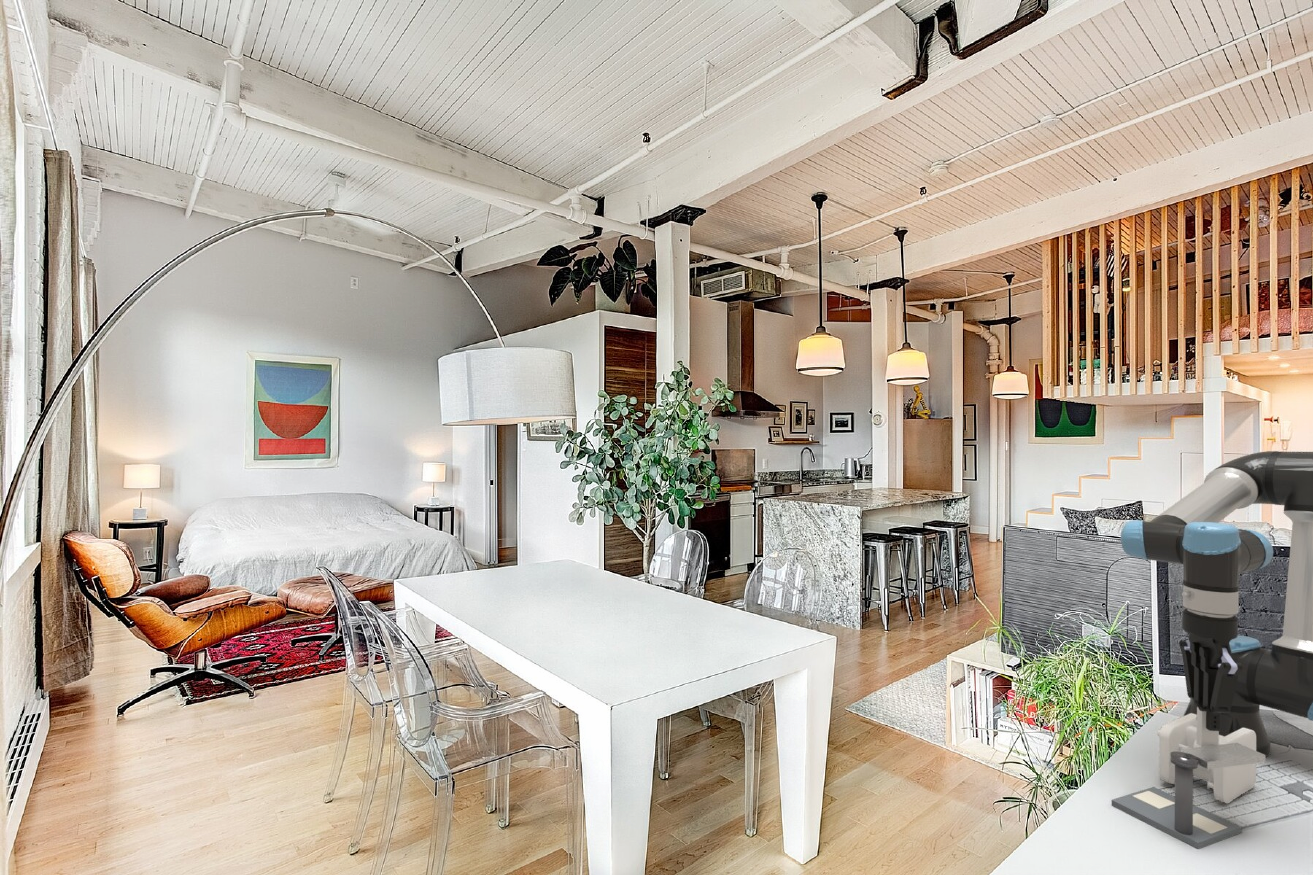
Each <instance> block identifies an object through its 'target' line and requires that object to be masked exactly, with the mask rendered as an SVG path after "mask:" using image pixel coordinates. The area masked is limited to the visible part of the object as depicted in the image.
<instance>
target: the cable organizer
mask: <svg viewBox="0 0 1313 875" xmlns="http://www.w3.org/2000/svg"><path fill="white" fill-rule="evenodd" d="M1157 737H1158V738H1159V740H1158V741H1159V742H1158V748H1159V749H1158V754H1159V755H1158V758H1159V759H1158V762H1159V763H1158V776H1159V779H1160V780H1161V781H1164V782H1166V783H1169V784H1171V785H1175V764H1173V763H1172V762H1171V761H1170V753H1171V752H1174V751H1178V752H1181V749H1186V748H1195V747H1201V746H1199V745H1198V744H1196V743H1197V715H1196V714H1193V713H1190V714H1188V715H1185V716H1183V715H1182V716H1181V717H1178V718H1177V719H1173V720H1172V721H1169V722H1167V723H1165V724H1163V725H1162V726H1160V728H1159V729H1158V730H1157ZM1231 743H1239V744H1241V745H1243V746H1246V747H1248V748H1250V749H1253V750H1255V751H1256V733H1255V732H1254V731H1253V730H1250V729H1247V728H1241V729H1239V730H1237V731H1235V732H1233V733H1231V734H1229V735H1227V736H1225V737H1224V736H1221V735H1219V745H1222V744H1231ZM1194 777H1195V778H1197V779H1200V780H1203V781H1204V782H1207V786H1206V790H1209V791H1210V790H1211V789H1213V796H1214V799H1216V800H1218V801H1219V802H1222V803H1223V802H1225V803H1228V802H1229V803H1231V802H1232V801H1234V800H1235V799H1236V798H1238V797H1240V796H1241V794H1242V795H1244V794H1246V793H1247V792H1249V791H1250V790H1251V789H1252V788H1253V787H1254V786H1255V783H1256V781H1257V780H1256V779H1257V763H1254V764H1246V765H1238V766H1229V767H1221V768H1212V769H1206V768H1204V767H1202V766H1200V765H1198V768H1196V769H1193V778H1194ZM1248 790H1249V791H1248ZM1246 791H1247V792H1246ZM1245 792H1246V793H1245ZM1243 793H1244V794H1243ZM1233 799H1234V800H1233ZM1230 801H1231V802H1230ZM1225 803H1224V804H1225ZM1229 803H1228V804H1229Z"/></svg>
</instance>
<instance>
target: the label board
mask: <svg viewBox="0 0 1313 875" xmlns="http://www.w3.org/2000/svg"><path fill="white" fill-rule="evenodd" d="M1111 806H1112V807H1115V808H1116V809H1118V810H1120V811H1121V812H1124V813H1126V814H1127V815H1130V816H1132V817H1134V818H1135V819H1138V820H1140V821H1142V822H1144V823H1146V824H1147V825H1150V826H1152V827H1154V828H1156V829H1157V830H1159V831H1162V832H1164V833H1165V834H1168V835H1170V836H1172V837H1174V838H1175V839H1177V840H1179V841H1181V842H1184V843H1185V844H1187V845H1189V846H1192V847H1193V848H1196V849H1197V850H1200V849H1202V848H1205V847H1207V846H1210V845H1213V844H1215V843H1218V842H1220V841H1223V840H1226V839H1228V838H1231V837H1234V836H1236V835H1239V834H1242V833H1243V826H1241V825H1239V824H1237V823H1235V822H1233V821H1230V820H1228V819H1226V818H1224V817H1221V816H1219V815H1217V814H1215V813H1212V812H1211V811H1208V810H1206V809H1204V808H1202V807H1199V806H1197V805H1195V804H1194V776H1193V769H1188V768H1183V767H1180V766H1177V765H1175V784H1174V794H1172V793H1171V794H1170V793H1168V792H1167V791H1164V790H1162V789H1160V788H1158V787H1155V786H1151V787H1147V788H1145V789H1142V790H1139V791H1136V792H1133V793H1129V794H1126V795H1122V796H1119V797H1116V798H1112V799H1111Z"/></svg>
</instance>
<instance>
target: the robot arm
mask: <svg viewBox="0 0 1313 875" xmlns="http://www.w3.org/2000/svg"><path fill="white" fill-rule="evenodd" d="M1254 504H1255V505H1258V504H1259V505H1275V506H1283V515H1285V516H1286V517H1287V518H1289V519H1290V520H1291V522H1292V523H1291V524H1292V525H1291V526H1292V527H1291V534H1290V536H1291V538H1290V548H1289V550H1290V551H1289V558H1288V559H1289V560H1288V571H1287V572H1288V574H1287V581H1286V582H1287V584H1286V592H1285V594H1286V595H1285V606H1284V618H1283V629H1282V635H1281V637H1280V638H1278V639H1275V640H1273V641H1272V643H1271V650H1270V649H1265V648H1261V647H1262V644H1261V642H1260V641H1259V640H1258V638H1253V637H1251V636H1246V635H1239V618H1237V616H1236V615H1237V614H1239V613H1240V612H1239V611H1240V610H1239V609H1240V608H1239V604H1240V602H1239V597H1240V596H1239V595H1240V592H1239V591H1240V590H1239V584H1240V583H1239V580H1240V578H1239V576H1240V574H1244V573H1251V572H1255V571H1258V570H1261V569H1262V568H1264V567H1266V566H1267V565H1269V564H1270V563H1271V561H1272V560H1273V557H1274V548H1273V545H1272V543H1271V541H1270V540H1269V539H1268V538H1267V536H1265V535H1264V534H1262V533H1261V532H1258V531H1256V530H1251V529H1243V528H1238V527H1236V526H1235V525H1232V524H1227V523H1221V521H1223V520H1224V519H1225V518H1226V517H1228V516H1229V515H1230V514H1232V513H1233V512H1235V511H1236V510H1240V509H1245V508H1248V507H1250V506H1252V505H1254ZM1120 543H1121V548H1122V550H1123V551H1124V553H1125V554H1126V555H1127V556H1130V557H1132V558H1138V559H1143V560H1145V561H1155V562H1163V563H1170V564H1176V565H1177V564H1179V565H1183V568H1182V570H1183V572H1182V573H1183V574H1182V576H1183V579H1182V585H1183V588H1182V590H1183V591H1182V592H1181V596H1182V606H1183V607H1184V608H1183V610H1182V616H1181V617H1182V618H1181V619H1182V620H1181V626H1182V630H1183V631H1184V632H1186V633H1187V634H1188V636H1187V638H1188V639H1187V640H1179V641H1178V646H1179V648H1180V649H1179V650H1180V652H1181V655H1182V663H1183V670H1184V677H1185V678H1184V679H1185V686H1186V694H1187V696H1188V698H1190V699H1189V702H1188V704H1187V707H1186V708H1185V711H1184V713H1183V715H1182V717H1183V716H1185V715H1188V714H1190V713H1193V714H1196V715H1197V743H1196V744H1198V745H1199V746H1201V747H1204V746H1213V745H1219V735H1221V736H1224V737H1225V736H1227V735H1229V734H1231V733H1233V732H1235V731H1237V730H1239V729H1241V728H1247V729H1250V730H1253V731H1254V732H1255V733H1256V751H1257V752H1260V753H1262V754H1264V755H1265V757H1267V756H1269V755H1271V740H1270V737H1269V734H1268V732H1267V730H1266V727H1265V724H1264V722H1263V719H1262V717H1261V712H1260V706H1262V707H1266V708H1269V709H1273V710H1276V711H1280V712H1283V713H1286V714H1287V713H1288V714H1291V715H1294V716H1298V717H1302V718H1305V719H1308V720H1309V721H1311V722H1313V451H1280V450H1278V451H1277V450H1273V451H1271V450H1270V451H1269V450H1267V451H1259V452H1255V453H1251V454H1245V455H1244V456H1243V455H1242V456H1240V457H1237V458H1234V459H1232V460H1230V461H1227V462H1225V463H1223V464H1221V465H1219V466H1218V467H1216V468H1214V469H1213V470H1212V471H1210V472H1209V473H1207V475H1206V476H1205V478H1204V480H1203V483H1202V484H1201V485H1199V486H1198V487H1196V488H1195V489H1193V490H1192V491H1191V492H1190V493H1188V494H1187V495H1185V496H1184V497H1183V498H1181V499H1179V500H1178V501H1177V502H1175V503H1174V504H1173V505H1171V506H1169V507H1168V508H1167V509H1166V510H1164V511H1163V512H1162V513H1160V514H1158V515H1157V516H1156V517H1155V518H1153V519H1151V520H1150V521H1146V520H1141V519H1140V520H1130V521H1127V522H1126V523H1125V524H1124V526H1123V527H1122V529H1121V533H1120Z"/></svg>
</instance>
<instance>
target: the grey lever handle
mask: <svg viewBox="0 0 1313 875" xmlns="http://www.w3.org/2000/svg"><path fill="white" fill-rule="evenodd" d="M1170 761H1171V762H1172V763H1173V764H1175V765H1177V766H1180V767H1183V768H1188V769H1196V768H1198V765H1200V766H1202V767H1204V768H1206V769H1212V768H1221V767H1229V766H1238V765H1246V764H1254V763H1256V764H1261V763H1262V764H1263V763H1266V756H1265V755H1264V754H1262V753H1260V752H1257V751H1255V750H1253V749H1250V748H1248V747H1246V746H1243V745H1241V744H1239V743H1231V744H1222V745H1213V746H1204V747H1195V748H1186V749H1181V752H1178V751H1174V752H1171V753H1170Z"/></svg>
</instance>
